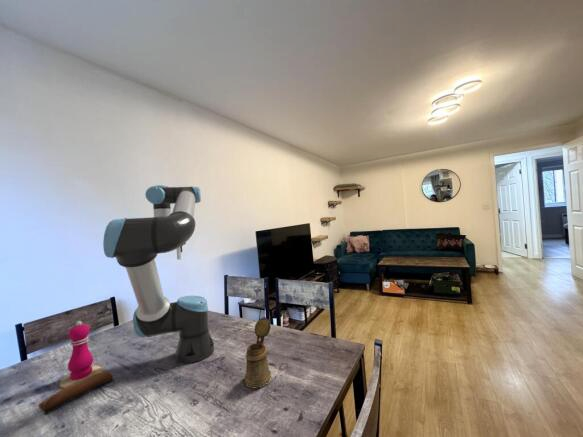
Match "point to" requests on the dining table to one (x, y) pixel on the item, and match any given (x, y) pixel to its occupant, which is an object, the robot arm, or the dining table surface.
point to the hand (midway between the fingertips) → (165, 261)
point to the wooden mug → (258, 357)
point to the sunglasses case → (75, 390)
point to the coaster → (67, 381)
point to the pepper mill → (80, 352)
